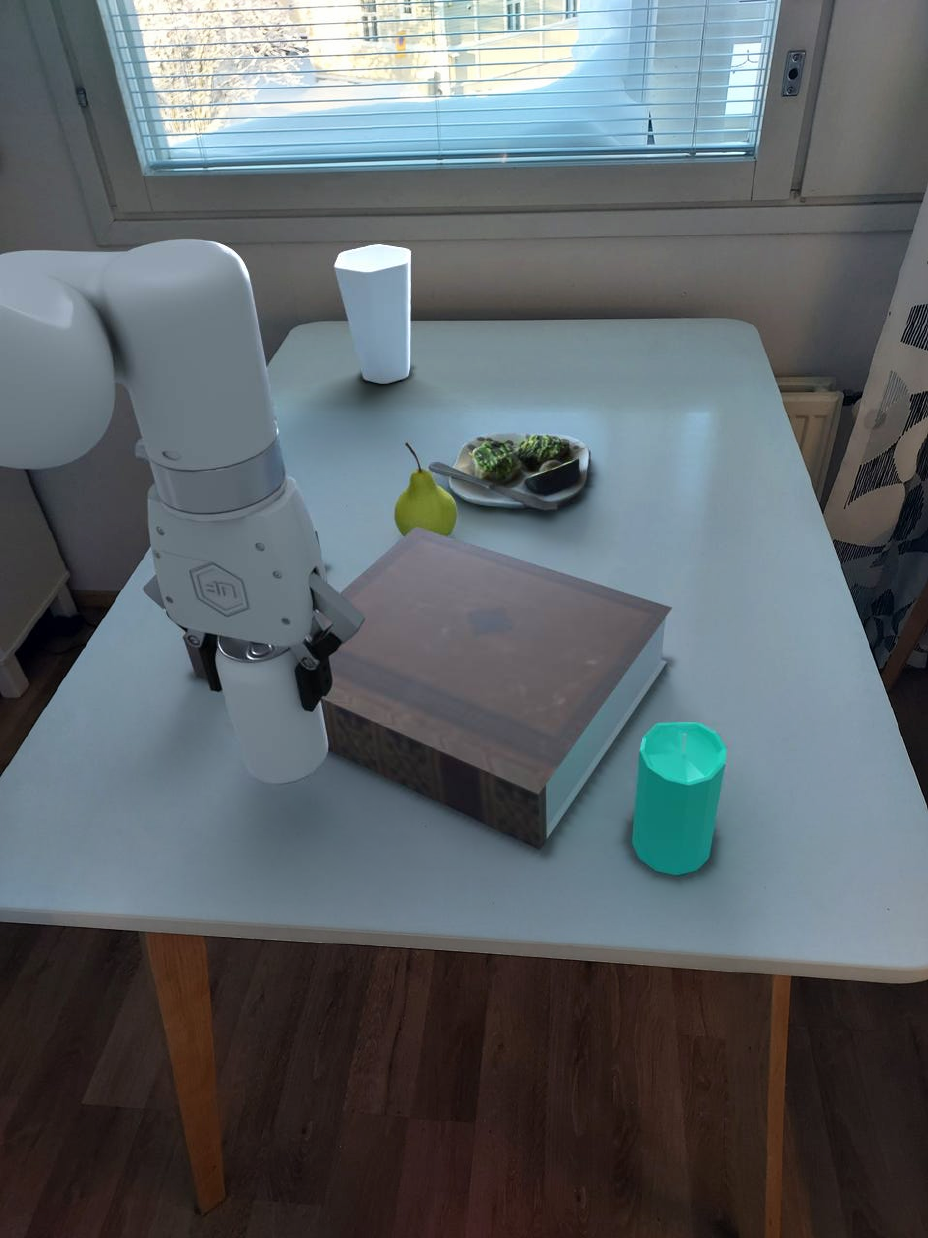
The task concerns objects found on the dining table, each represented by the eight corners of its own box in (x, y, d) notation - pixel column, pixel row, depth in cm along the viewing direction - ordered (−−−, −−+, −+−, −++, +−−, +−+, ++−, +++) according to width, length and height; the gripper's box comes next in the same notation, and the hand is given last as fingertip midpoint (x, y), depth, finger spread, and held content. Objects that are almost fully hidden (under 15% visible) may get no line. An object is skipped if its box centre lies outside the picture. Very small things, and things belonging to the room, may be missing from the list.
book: (539, 849, 71) (538, 794, 67) (268, 721, 84) (253, 668, 80) (666, 662, 87) (672, 607, 83) (421, 577, 99) (415, 526, 95)
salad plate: (413, 514, 109) (409, 480, 106) (447, 439, 122) (445, 407, 119) (578, 525, 105) (578, 490, 102) (595, 447, 118) (596, 414, 115)
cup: (417, 388, 135) (405, 269, 124) (348, 391, 135) (330, 273, 124) (423, 356, 143) (412, 242, 132) (358, 358, 144) (342, 245, 133)
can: (247, 796, 67) (212, 674, 60) (240, 734, 72) (207, 614, 65) (335, 776, 68) (312, 654, 61) (322, 716, 73) (299, 596, 66)
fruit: (471, 539, 104) (465, 444, 97) (427, 566, 101) (416, 470, 93) (430, 517, 108) (420, 424, 101) (385, 542, 105) (372, 448, 97)
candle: (723, 830, 72) (742, 721, 64) (694, 888, 68) (711, 780, 60) (650, 800, 74) (661, 692, 67) (618, 854, 71) (626, 747, 63)
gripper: (56, 480, 54) (136, 701, 65) (326, 521, 50) (363, 751, 61) (129, 421, 60) (192, 634, 71) (379, 453, 55) (403, 676, 66)
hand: (270, 686), depth 66 cm, fingers closed on can, 6 cm apart
